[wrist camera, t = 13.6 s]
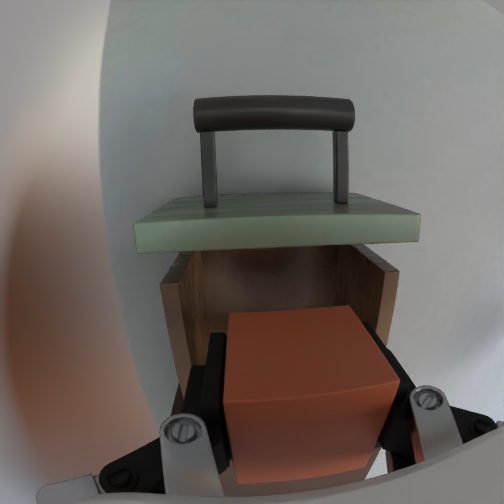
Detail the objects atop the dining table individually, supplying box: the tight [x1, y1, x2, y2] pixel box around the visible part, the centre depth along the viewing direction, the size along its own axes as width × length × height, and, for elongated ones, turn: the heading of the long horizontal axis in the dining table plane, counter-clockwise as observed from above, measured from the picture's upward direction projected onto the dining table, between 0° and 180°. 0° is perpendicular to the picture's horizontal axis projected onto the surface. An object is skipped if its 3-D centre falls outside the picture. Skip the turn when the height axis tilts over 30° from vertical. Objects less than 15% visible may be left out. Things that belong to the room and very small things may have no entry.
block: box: [223, 305, 400, 484], centre depth 9 cm, size 4×4×4 cm
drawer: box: [133, 95, 421, 399], centre depth 16 cm, size 20×11×8 cm, turn 2°
